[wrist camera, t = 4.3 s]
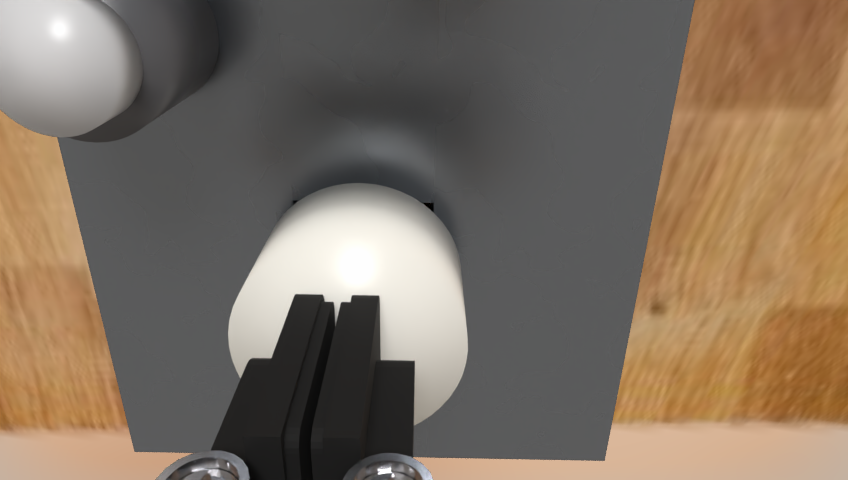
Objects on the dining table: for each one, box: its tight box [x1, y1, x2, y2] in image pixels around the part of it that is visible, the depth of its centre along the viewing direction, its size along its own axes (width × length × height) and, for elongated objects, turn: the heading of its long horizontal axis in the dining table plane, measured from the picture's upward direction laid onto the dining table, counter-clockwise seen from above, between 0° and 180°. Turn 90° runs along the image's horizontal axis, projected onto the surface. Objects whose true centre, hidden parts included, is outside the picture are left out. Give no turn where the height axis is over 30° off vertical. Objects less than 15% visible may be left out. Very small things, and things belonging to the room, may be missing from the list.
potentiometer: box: [0, 0, 219, 143], centre depth 12 cm, size 3×3×4 cm
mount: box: [57, 0, 695, 461], centre depth 16 cm, size 14×24×5 cm, turn 179°
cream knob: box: [228, 183, 468, 425], centre depth 16 cm, size 5×5×8 cm
